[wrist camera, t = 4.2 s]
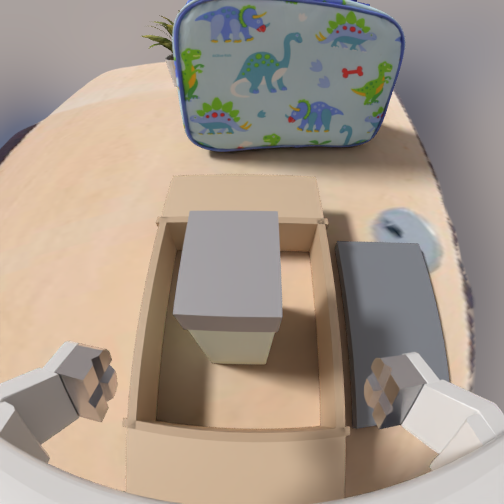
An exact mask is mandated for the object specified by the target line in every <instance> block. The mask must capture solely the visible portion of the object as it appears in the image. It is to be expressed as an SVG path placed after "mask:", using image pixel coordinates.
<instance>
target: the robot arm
mask: <svg viewBox="0 0 504 504" xmlns="http://www.w3.org/2000/svg"><path fill="white" fill-rule="evenodd" d="M111 361H112V358H111V355H110V352H109V351H108V350H107V349H103V348H99V347H94V346H90V345H85V344H79V343H76V342H72V341H66V342H64V343H63V345H62V346H61V347H60V348H59V349H58V350H57V352H56V353H55V354H54V355H53V356H52V358H51V359H50V360H49V361H48V362H47V364H46V365H45V366H44V367H43V368H42V369H41V368H37V369H35V370H32V371H30V372H27V373H25V374H22V375H20V376H18V377H15V378H13V379H10V380H8V381H5V382H3V383H0V504H183V503H176V502H170V501H164V500H159V499H154V498H149V497H144V496H140V495H136V494H132V493H128V492H124V491H120V490H117V489H113V488H110V487H107V486H104V485H101V484H98V483H95V482H92V481H89V480H86V479H84V478H81V477H78V476H76V475H73V474H71V473H68V472H66V471H64V470H61V469H59V468H57V467H55V466H52V465H50V464H48V461H49V459H50V458H49V455H48V454H47V452H46V451H45V450H44V449H43V447H42V446H41V444H42V443H44V442H45V441H47V440H48V439H50V438H51V437H52V436H54V435H55V434H57V433H58V432H60V431H61V430H62V429H64V428H65V427H67V426H68V425H69V424H71V423H72V422H74V421H75V420H76V419H78V418H79V417H83V418H87V419H90V420H94V421H98V422H102V421H103V419H104V417H105V414H106V412H107V410H108V408H109V407H108V404H107V401H109V400H111V399H112V398H113V397H114V395H115V393H116V389H117V376H116V372H115V370H114V369H113V368H112V367H111V366H110V365H109V364H110V362H111ZM371 369H372V371H373V373H372V374H371V375H370V376H369V377H368V378H367V379H366V382H365V385H364V396H365V400H366V402H367V405H368V406H370V407H372V408H373V409H374V411H373V413H372V416H373V418H374V420H375V422H376V424H377V427H378V429H383V428H388V427H393V426H397V425H401V426H402V427H403V428H405V429H406V430H407V431H409V432H410V433H411V434H412V435H414V436H415V437H416V438H418V439H419V440H420V441H422V442H423V443H424V444H426V445H427V446H428V447H430V448H431V449H433V450H434V451H435V452H437V453H438V454H439V455H438V456H437V457H436V458H435V459H434V460H433V461H432V462H431V464H430V466H429V467H430V469H431V472H429V473H426V474H424V475H421V476H419V477H416V478H413V479H411V480H408V481H405V482H402V483H399V484H396V485H393V486H390V487H387V488H383V489H380V490H376V491H373V492H369V493H365V494H361V495H357V496H352V497H348V498H343V499H338V500H332V501H326V502H320V503H313V504H504V414H503V413H502V411H501V410H500V409H499V408H498V406H497V405H496V404H495V403H493V402H491V401H489V400H487V399H484V398H482V397H480V396H478V395H476V394H473V393H471V392H469V391H467V390H465V389H463V388H460V387H458V386H456V385H454V384H452V383H450V382H448V381H445V380H439V378H438V377H437V376H436V375H435V373H434V372H433V371H432V370H431V368H430V367H429V366H428V365H427V363H426V362H425V361H424V360H423V358H422V357H421V356H420V355H419V354H418V353H416V352H411V353H405V354H402V355H394V356H386V357H378V358H376V359H375V360H374V361H373V363H372V366H371Z"/></svg>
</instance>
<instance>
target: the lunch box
mask: <svg viewBox="0 0 504 504" xmlns="http://www.w3.org/2000/svg"><path fill="white" fill-rule="evenodd" d="M172 40H173V41H172V43H173V56H174V65H175V74H176V81H177V89H178V96H179V103H180V109H181V115H182V120H183V125H184V129H185V132H186V134H187V136H188V138H189V139H190V141H191V142H193V143H194V144H195V145H197V146H199V147H201V148H204V149H207V150H211V151H219V152H228V151H240V150H249V149H260V148H276V147H307V146H326V147H350V146H356V145H361V144H363V143H366V142H368V141H370V140H371V139H372V138H373V137H374V136H375V135H376V134H377V132H378V130H379V129H380V126H381V124H382V122H383V120H384V117H385V114H386V111H387V108H388V104H389V101H390V98H391V95H392V92H393V89H394V86H395V83H396V80H397V77H398V74H399V70H400V66H401V63H402V59H403V55H404V50H405V36H404V32H403V30H402V28H401V26H400V25H399V23H398V22H397V21H396V20H395V19H394V18H392V17H391V16H389V15H387V14H386V13H384V12H382V11H380V10H378V9H375V8H373V7H370V5H369V4H364V3H360V2H357V0H189V1H188V2H187V3H186V5H185V6H184V7H183V8H182V9H181V10H180V12H179V13H178V15H177V17H176V19H175V22H174V26H173V34H172Z"/></svg>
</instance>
